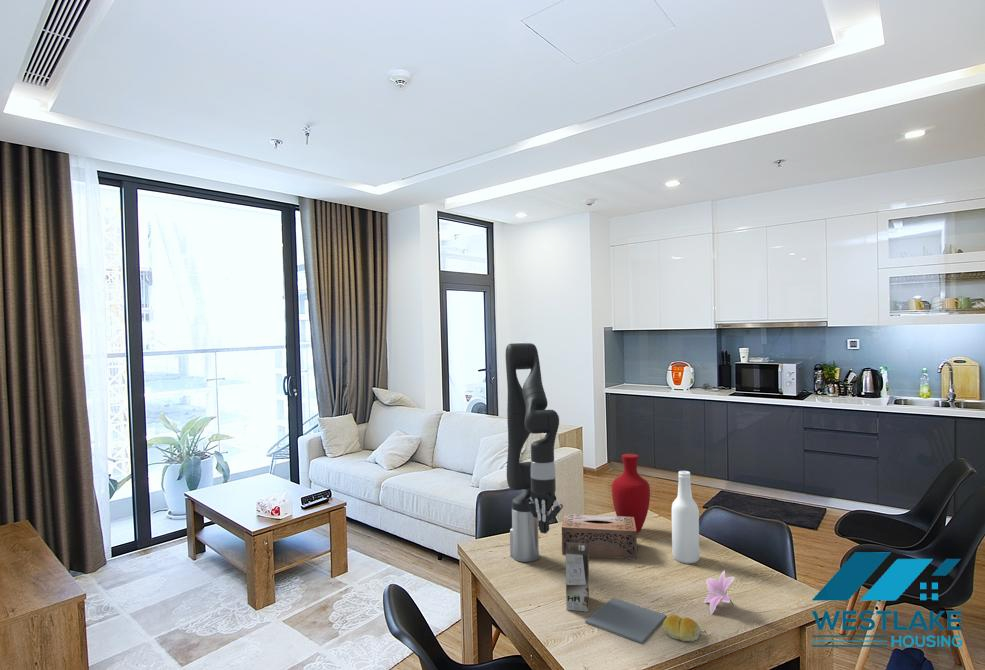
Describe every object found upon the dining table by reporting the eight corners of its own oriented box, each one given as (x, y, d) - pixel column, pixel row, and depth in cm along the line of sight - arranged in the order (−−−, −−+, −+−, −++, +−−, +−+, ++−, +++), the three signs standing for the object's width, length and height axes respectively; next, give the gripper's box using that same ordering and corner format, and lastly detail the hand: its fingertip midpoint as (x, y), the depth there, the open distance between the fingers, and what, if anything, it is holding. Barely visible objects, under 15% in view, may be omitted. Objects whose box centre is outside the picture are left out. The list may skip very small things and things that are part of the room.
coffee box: (588, 612, 149) (587, 554, 149) (565, 610, 150) (564, 553, 151) (589, 596, 158) (588, 542, 158) (567, 594, 159) (566, 541, 159)
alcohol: (675, 551, 189) (673, 467, 189) (701, 556, 185) (699, 470, 185) (669, 561, 182) (668, 473, 182) (697, 566, 177) (695, 476, 177)
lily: (709, 596, 159) (694, 570, 158) (749, 589, 154) (733, 562, 153) (709, 628, 149) (693, 600, 148) (751, 622, 143) (735, 593, 142)
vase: (613, 537, 204) (612, 459, 204) (611, 523, 218) (610, 450, 218) (653, 539, 201) (651, 460, 201) (648, 525, 216) (647, 451, 216)
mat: (585, 622, 144) (585, 620, 144) (612, 599, 156) (612, 597, 156) (641, 643, 134) (641, 641, 134) (666, 617, 146) (666, 614, 146)
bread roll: (667, 621, 144) (667, 606, 144) (702, 631, 139) (701, 615, 139) (658, 636, 137) (658, 620, 137) (695, 646, 132) (694, 630, 132)
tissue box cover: (634, 543, 198) (633, 517, 198) (637, 560, 184) (636, 531, 184) (564, 539, 203) (564, 513, 203) (562, 555, 189) (561, 527, 189)
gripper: (518, 475, 163) (519, 531, 163) (554, 481, 155) (555, 541, 155) (532, 470, 169) (533, 524, 169) (568, 476, 161) (569, 533, 160)
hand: (544, 532), depth 162 cm, fingers closed
